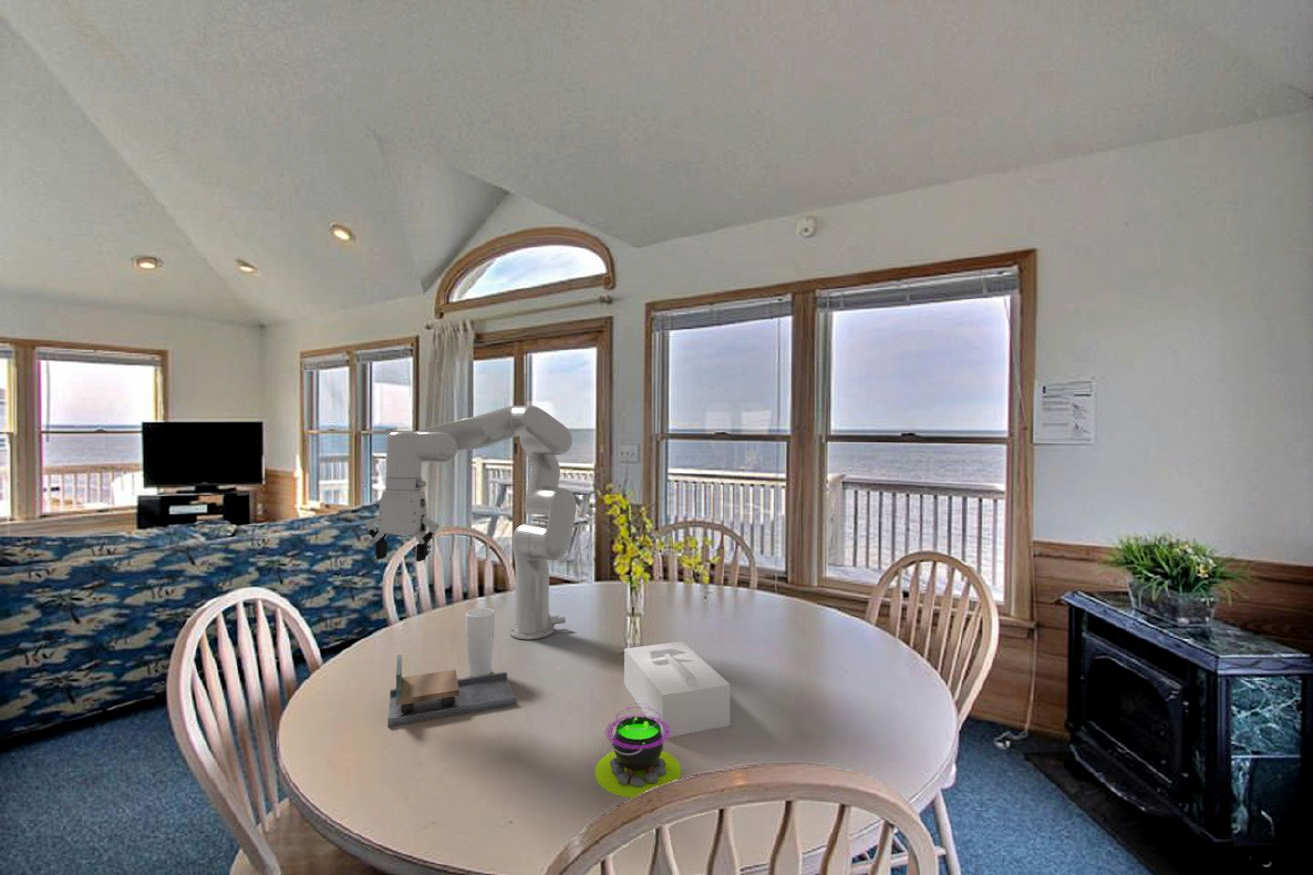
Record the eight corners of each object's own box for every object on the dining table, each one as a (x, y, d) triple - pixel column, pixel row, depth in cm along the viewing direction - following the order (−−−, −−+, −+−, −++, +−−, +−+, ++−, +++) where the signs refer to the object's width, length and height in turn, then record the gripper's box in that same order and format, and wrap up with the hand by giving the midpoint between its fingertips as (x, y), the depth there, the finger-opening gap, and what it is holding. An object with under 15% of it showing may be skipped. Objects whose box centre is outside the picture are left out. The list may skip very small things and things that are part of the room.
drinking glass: (498, 668, 144) (498, 608, 144) (488, 680, 137) (488, 617, 137) (472, 667, 145) (472, 607, 144) (460, 679, 138) (460, 615, 138)
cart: (455, 685, 133) (455, 647, 132) (459, 706, 122) (459, 666, 122) (397, 694, 128) (397, 655, 128) (396, 717, 118) (396, 675, 118)
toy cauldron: (590, 753, 107) (590, 693, 107) (669, 743, 111) (669, 685, 111) (601, 804, 93) (601, 735, 93) (691, 791, 96) (692, 725, 96)
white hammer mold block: (681, 676, 141) (682, 631, 141) (729, 726, 117) (730, 672, 117) (624, 685, 136) (624, 638, 136) (662, 739, 112) (662, 683, 112)
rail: (506, 678, 138) (506, 671, 138) (516, 704, 125) (516, 697, 125) (390, 696, 129) (390, 689, 129) (387, 726, 116) (387, 718, 116)
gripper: (446, 485, 138) (444, 558, 138) (377, 483, 140) (375, 554, 140) (430, 487, 131) (428, 564, 130) (358, 485, 133) (355, 560, 132)
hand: (401, 559), depth 135 cm, fingers open, 9 cm apart
